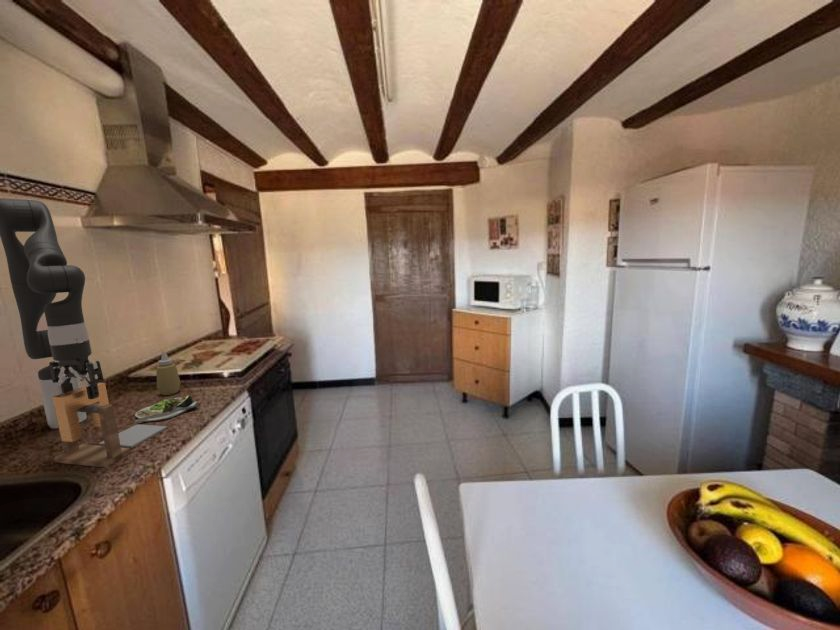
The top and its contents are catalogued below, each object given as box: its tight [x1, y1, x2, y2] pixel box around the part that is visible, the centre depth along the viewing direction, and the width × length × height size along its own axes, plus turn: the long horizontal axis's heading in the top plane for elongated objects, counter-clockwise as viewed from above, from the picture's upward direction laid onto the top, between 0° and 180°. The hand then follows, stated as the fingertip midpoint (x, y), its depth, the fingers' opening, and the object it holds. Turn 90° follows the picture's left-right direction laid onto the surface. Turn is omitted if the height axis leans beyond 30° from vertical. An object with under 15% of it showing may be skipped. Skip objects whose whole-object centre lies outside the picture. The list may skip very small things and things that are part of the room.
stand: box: [54, 403, 132, 468], centre depth 98 cm, size 17×7×16 cm, turn 80°
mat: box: [98, 424, 168, 449], centre depth 111 cm, size 12×12×1 cm
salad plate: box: [134, 394, 199, 423], centre depth 127 cm, size 19×18×5 cm
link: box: [52, 382, 110, 442], centre depth 97 cm, size 4×10×12 cm, turn 170°
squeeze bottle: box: [155, 351, 181, 396], centre depth 145 cm, size 8×8×18 cm
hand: (81, 397), depth 96 cm, fingers open, 8 cm apart
